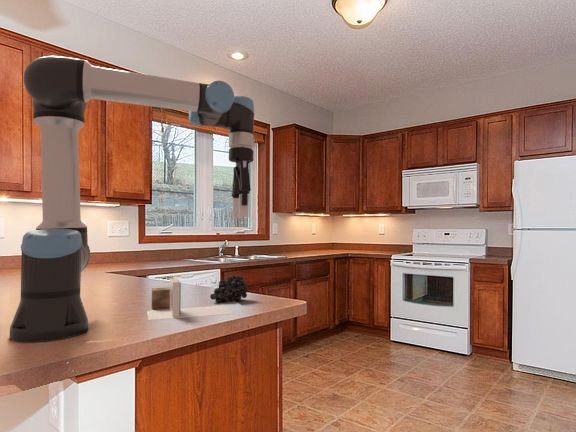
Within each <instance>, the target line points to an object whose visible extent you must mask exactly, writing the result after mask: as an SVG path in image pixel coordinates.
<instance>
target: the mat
mask: <svg viewBox="0 0 576 432" xmlns="http://www.w3.org/2000/svg"><path fill="white" fill-rule="evenodd" d="M146 313H147V318H148V319H147V320H148V321H155V320H156V321H157V320H169V319H179V318H180V319H181V318H195V317H196V318H197V317H207V316H209V317H210V316H221V315H222V316H223V315H234V313H233V311H232V310H230V309H229V308H228V307H226V305H214V306H213V305H212V306H198V307H197V306H196V307H183V308H182V307H180V316H179V317H172V315H171V312H170V308H165V309H151V310H147V311H146Z"/></svg>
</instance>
